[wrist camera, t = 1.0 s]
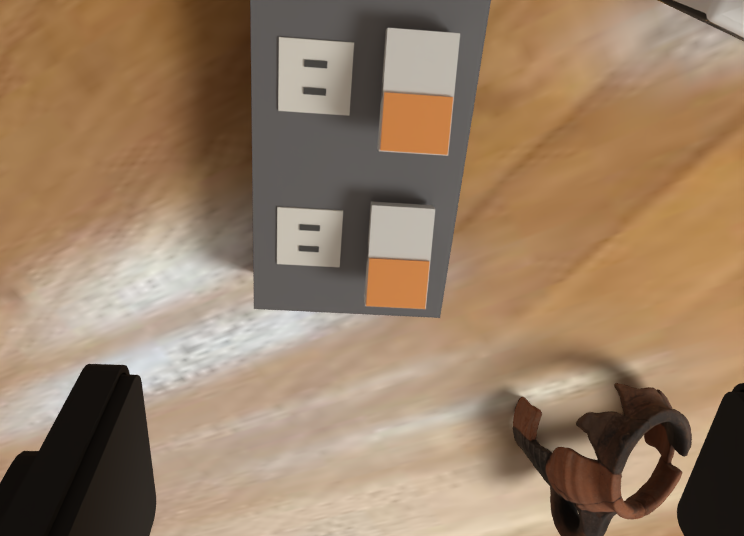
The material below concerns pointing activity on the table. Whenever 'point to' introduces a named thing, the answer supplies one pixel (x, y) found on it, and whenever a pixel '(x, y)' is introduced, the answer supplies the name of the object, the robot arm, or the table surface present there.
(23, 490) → the robot arm
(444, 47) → the rocker
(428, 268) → the rocker
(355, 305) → the power strip
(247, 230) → the table surface
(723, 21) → the medicine bottle
